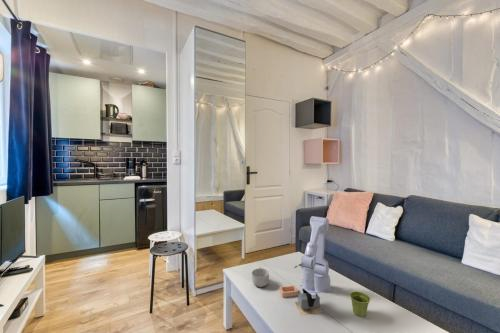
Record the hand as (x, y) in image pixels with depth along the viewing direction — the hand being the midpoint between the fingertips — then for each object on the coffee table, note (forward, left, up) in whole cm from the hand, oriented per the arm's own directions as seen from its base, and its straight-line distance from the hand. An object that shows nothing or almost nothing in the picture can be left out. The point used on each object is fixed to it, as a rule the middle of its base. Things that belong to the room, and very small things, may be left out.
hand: (308, 303), depth 120 cm
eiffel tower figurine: (-15, -40, -3) cm, 43 cm away
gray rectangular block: (0, 0, -1) cm, 1 cm away
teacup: (+21, -27, -3) cm, 34 cm away
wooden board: (0, 0, -3) cm, 3 cm away
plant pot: (-24, +8, -3) cm, 25 cm away
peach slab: (+7, -13, -3) cm, 15 cm away
